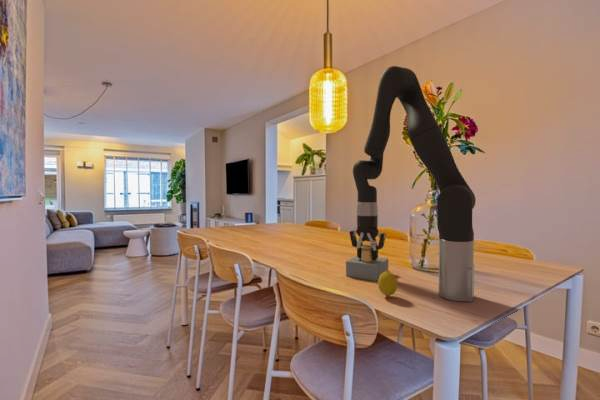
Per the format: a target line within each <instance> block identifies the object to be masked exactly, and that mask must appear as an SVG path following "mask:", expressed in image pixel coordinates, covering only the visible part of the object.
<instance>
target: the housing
mask: <svg viewBox="0 0 600 400" xmlns="http://www.w3.org/2000/svg"><path fill="white" fill-rule="evenodd" d="M386 271H389V258H386V257H378V258H377V259H376V260H374V262H372V263H371V262H364V261H361V259H359V258H358V257H357V255H356V256H354V257H352V258H350V259H348V260H346V261H345V276H346V277H348V278H357V279H361V280H369V281H374V282H378V280H379V277H380V275H381V274H382V273H383V272H386Z"/></svg>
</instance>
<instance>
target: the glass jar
mask: <svg viewBox="0 0 600 400" xmlns="http://www.w3.org/2000/svg"><path fill="white" fill-rule="evenodd" d="M360 248H361V261H364V262H371V263H372V262H374V260H373V247H372V245H371V243H370V244H369V243H365V244H364V243H363V244H362V245H360Z"/></svg>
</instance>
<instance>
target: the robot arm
mask: <svg viewBox="0 0 600 400" xmlns="http://www.w3.org/2000/svg"><path fill="white" fill-rule="evenodd" d="M396 99H398V100H399V102H400V103H401V105H402V107H403V109H404V111H405V113H406V119H407V122H406V123H407V136H408V138H409V141H410V142H411V145H412V147H413V149H414V151H415V154H416V155H417V157H418V158H419V159H420V161H421V163H422V164H423V165H424V166H425V167H426V169H427V170H428V171H429V172H430V174H431V175H432V177H433V179H434V180H435V182H436V185H437V188H438V190H439V194H438V196H437V201H436V212H437V213H436V216H437V217H436V221H437V230H438V295H439V296H440V297H441V298H443V299H445V300H449V301H455V302H470V303H472V302H473V300H474V297H475V265H474V258H475V257H474V250H475V249H474V246H475V243H474V242H475V237H474V235H475V232H474V231H475V230H474V227H473V210H474V209H475V205H476V200H477V199H476V196H475V193H474V192H473V190H472V189H471V187H470V186H469V184H468V183H467V181H466V180H465V178H464V176H463V174H461V173H462V172H460V170H459V168H458V166H457V164H456V161H455V159H454V156H453V154H452V152H451V149H450V147H449V146H450V145H449V144H448V142H447V139H446V138H445V135H444V133H443V131H442V130H441V127H440V125H439V124H438V122H437V120H436V118H435V116H434V114H433V112H432V111H431V109H430V106H429V105H428V103H427V101H426V98H425V96H424V93H423V91H422V88H421V84H420V82H419V79H418V77H417V75H416V73H415V72H414V71H413V70H411V69H410V68H407V67H404V66H403V67H402V66H398V65H397V66H396V65H391V66H389V67H388V68H386V69H385V70H384V71H383V72H382V74H381V76H380V79H379V83H378V88H377V95H376V101H375V105H374V106H375V107H374V110H373V111H374V113H373V117H372V122H371V125H370V129H369V134H368V136H367V139H366V142H365V145H364V149H363V150H364V153H365V154H366V155H367V156H370V158H369V160H363V159H362V160H357V161H356V162H355V163H354V165H353V168H352V175H353V179H354V183H355V186H356V190H357V205H356V206H357V207H356V227H357V228H356V230H350V231H349V232H348V233H349V236H350V242H351V247H353V248H354V247H355V248H356V256H357V257H358V258H359V259H361V248H360V245H362V244H364V243H365V242H369V243H370V244H371V245H372V247H373V260H376V259H377V258H379V251H380V250H382V249H383V248H384V246H385V241H386V236H387V233H386V232H381V231H379V229H378V228H379V227H378V223H379V222H378V221H379V218H378V211H379V209H378V203H377V202H378V197H377V196H378V195H377V194H378V189H377V188H376V186H373V185H370V183H369V181H368V180H376V179H378V178H379V177H380V176H381V173H382V171H383V165H384V154H385V153H384V152H385V150H386V147H387V145H388V141H389V138H390V136H391V113H392V109H393V105H394V103H395V101H396ZM357 235H358V237H359V238H358V240H357ZM377 237H378V238H379V240H377Z"/></svg>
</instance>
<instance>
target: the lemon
mask: <svg viewBox="0 0 600 400" xmlns="http://www.w3.org/2000/svg"><path fill="white" fill-rule="evenodd" d="M377 285H378V289H379V292H380V293H382V294H383V295H385V296H386V297H387V298H389V297H391V296H392V295H394V294H395V293H396V291H397V289H398V280H397V277H396V275H395V274H394V273H393V272H390V271H389V270H388V271H386V272H383V273H382V274H381V275H380V277H379V280H378V281H377Z"/></svg>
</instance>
